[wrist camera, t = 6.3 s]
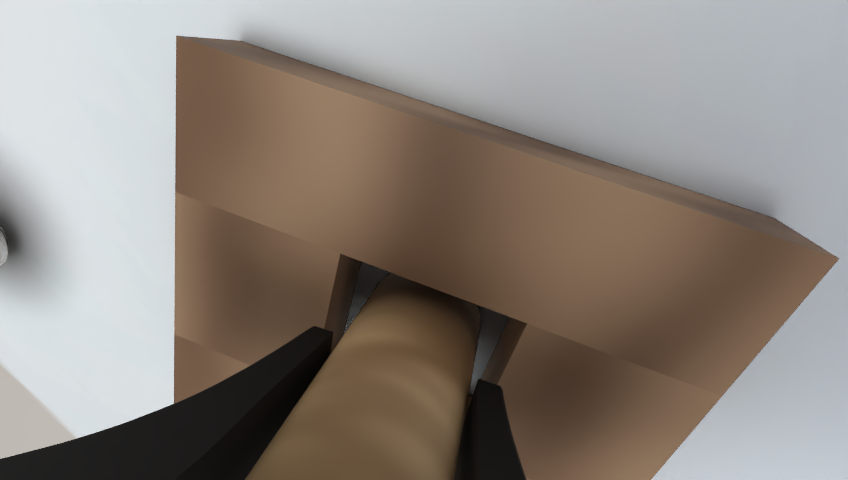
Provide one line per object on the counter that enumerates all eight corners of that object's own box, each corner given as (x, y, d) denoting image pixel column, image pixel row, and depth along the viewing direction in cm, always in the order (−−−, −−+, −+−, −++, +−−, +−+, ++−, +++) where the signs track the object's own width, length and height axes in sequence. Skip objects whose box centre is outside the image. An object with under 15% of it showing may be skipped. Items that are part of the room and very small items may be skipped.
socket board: (775, 218, 11) (839, 258, 9) (558, 514, 17) (563, 581, 15) (239, 40, 12) (176, 36, 10) (216, 372, 19) (173, 415, 16)
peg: (492, 283, 13) (454, 535, 6) (467, 377, 15) (414, 661, 8) (375, 255, 14) (216, 454, 7) (364, 348, 16) (226, 588, 8)
